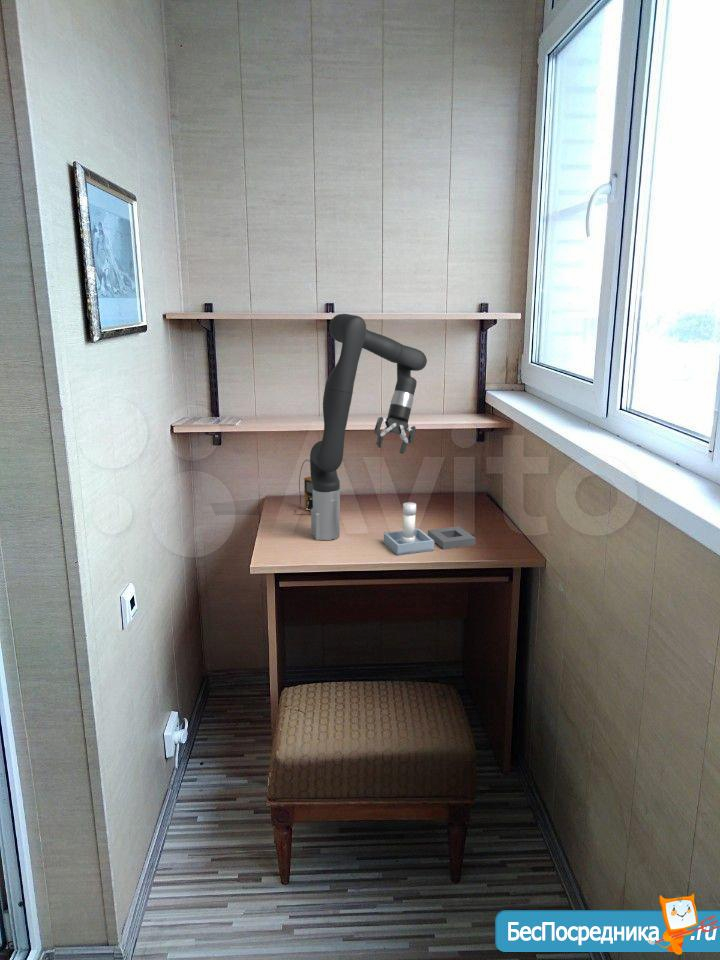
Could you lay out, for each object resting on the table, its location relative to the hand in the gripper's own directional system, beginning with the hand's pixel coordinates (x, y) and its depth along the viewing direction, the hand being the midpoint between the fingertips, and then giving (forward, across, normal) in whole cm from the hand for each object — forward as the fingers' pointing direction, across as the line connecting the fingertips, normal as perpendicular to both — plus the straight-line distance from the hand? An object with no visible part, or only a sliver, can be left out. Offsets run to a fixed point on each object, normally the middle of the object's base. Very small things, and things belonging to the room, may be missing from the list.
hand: (390, 450), depth 237 cm
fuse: (+30, +9, -14) cm, 34 cm away
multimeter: (+30, -18, +26) cm, 43 cm away
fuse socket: (+26, +25, -13) cm, 38 cm away
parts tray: (+31, +9, -14) cm, 35 cm away
